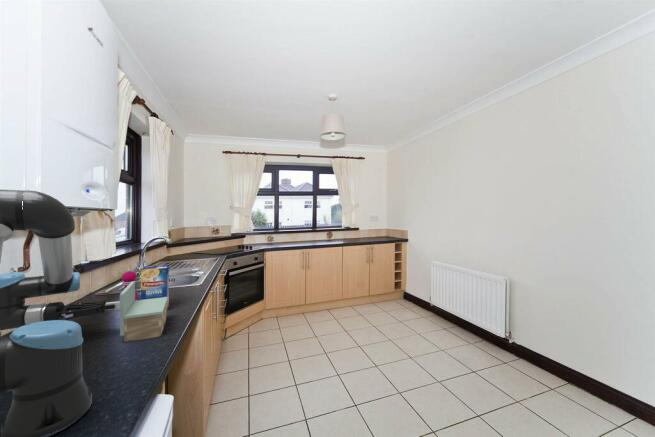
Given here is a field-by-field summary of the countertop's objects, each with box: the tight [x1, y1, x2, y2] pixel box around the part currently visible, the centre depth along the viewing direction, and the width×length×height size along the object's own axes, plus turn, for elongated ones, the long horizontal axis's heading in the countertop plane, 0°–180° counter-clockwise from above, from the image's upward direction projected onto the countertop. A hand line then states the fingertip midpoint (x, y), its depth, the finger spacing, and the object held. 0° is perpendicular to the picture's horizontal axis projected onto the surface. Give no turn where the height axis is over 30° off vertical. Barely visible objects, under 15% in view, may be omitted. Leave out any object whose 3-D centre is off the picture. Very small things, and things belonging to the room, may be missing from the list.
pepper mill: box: [121, 268, 139, 301], centre depth 134 cm, size 7×7×20 cm
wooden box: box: [123, 305, 167, 343], centre depth 110 cm, size 18×12×9 cm, turn 26°
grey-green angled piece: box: [119, 280, 168, 337], centre depth 110 cm, size 19×14×16 cm
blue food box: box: [140, 264, 170, 312], centre depth 131 cm, size 7×11×22 cm, turn 115°
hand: (125, 304), depth 107 cm, fingers closed
